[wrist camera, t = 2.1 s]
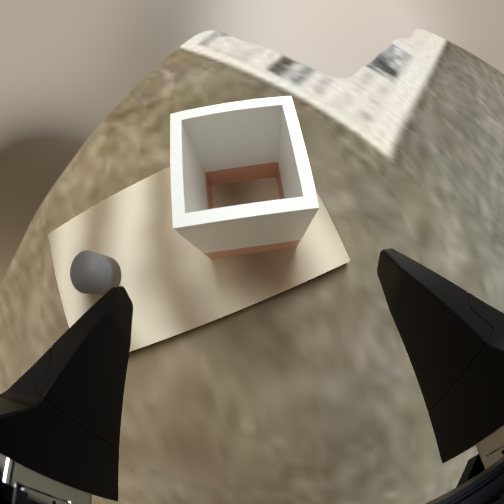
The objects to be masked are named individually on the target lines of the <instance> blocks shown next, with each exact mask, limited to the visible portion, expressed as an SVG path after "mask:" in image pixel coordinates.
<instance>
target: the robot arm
mask: <svg viewBox="0 0 504 504" xmlns="http://www.w3.org/2000/svg"><path fill="white" fill-rule="evenodd" d="M377 273H378V277H379V280H380V283H381V285H382V288H383V291H384V294H385V297H386V301H387V304H388V307H389V309H390V312H391V315H392V317H393V319H394V321H395V324H396V326H397V329H398V331H399V333H400V336H401V338H402V341H403V343H404V345H405V348H406V351H407V353H408V356H409V358H410V361H411V363H412V366H413V369H414V371H415V374H416V377H417V380H418V383H419V385H420V388H421V391H422V394H423V397H424V400H425V403H426V406H427V410H428V412H429V416H430V420H431V423H432V427H433V430H434V434H435V437H436V441H437V445H438V448H439V452H440V456H441V460H442V463H444V462H446V461H448V460H450V459H452V458H454V457H456V456H457V455H459V454H461V453H463V452H465V451H466V450H468V449H470V448H471V447H473V446H475V445H476V447H477V450H478V453H479V454H477V455H476V456H474V457H473V458H471V459H469V460H468V463H467V465H466V467H465V470H464V472H463V474H462V477H461V479H460V481H459V483H458V485H457V487H456V488H455V489H453V490H451V491H450V492H448V493H446V494H444V495H442V496H440V497H438V498H436V499H434V500H432V501H430V502H428V503H426V504H504V313H502V312H500V311H499V310H497V309H495V308H493V307H491V306H490V305H488V304H486V303H485V302H483V301H481V300H480V299H478V298H476V297H475V296H473V295H472V294H470V293H467V291H465V290H464V289H462V288H460V287H459V286H457V285H455V284H454V283H452V282H450V281H449V280H447V279H445V278H444V277H442V276H440V275H439V274H437V273H435V272H433V271H432V270H430V269H428V268H426V267H425V266H423V265H421V264H419V263H418V262H416V261H414V260H412V259H410V258H409V257H407V256H405V255H403V254H401V253H399V252H398V251H396V250H394V249H384V250H382V251H381V252H380V256H379V262H378V268H377ZM132 317H133V304H132V301H131V299H130V297H129V295H128V293H127V291H126V289H125V288H124V287H123V286H115V287H112V288H111V289H110V290H109V291H108V292H107V293H105V294H104V295H103V296H102V297H101V298H100V299H99V300H98V301H97V302H96V303H95V304H94V305H93V306H92V307H91V308H90V309H89V310H87V311H86V312H85V313H84V314H83V315H82V316H81V317H80V318H79V319H78V320H77V321H76V322H75V323H74V324H73V325H72V326H71V327H70V328H69V329H68V330H67V331H66V332H65V333H64V334H63V335H62V336H61V337H60V338H59V339H58V340H57V341H56V342H55V343H54V344H53V345H52V348H50V349H49V350H48V351H47V352H46V353H45V354H44V355H43V356H42V357H41V358H40V359H39V360H38V361H37V362H36V363H35V364H34V365H33V366H32V367H31V368H30V369H29V370H28V371H27V372H26V373H25V374H24V375H23V376H22V377H20V378H19V379H18V380H17V381H16V382H15V383H14V384H13V385H12V386H11V387H10V388H9V389H8V390H7V391H5V392H4V393H2V394H0V504H91V501H92V495H96V496H99V497H103V498H106V499H110V500H114V501H118V463H119V450H118V449H119V439H120V425H121V414H122V404H123V395H124V386H125V378H126V371H127V364H128V358H129V351H130V344H131V330H132Z"/></svg>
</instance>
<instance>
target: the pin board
mask: <svg viewBox="0 0 504 504" xmlns="http://www.w3.org/2000/svg"><path fill="white" fill-rule="evenodd" d="M211 189H212V199H213V209H214V208H221V207H227V206H234V205H241V204H248V203H255V202H262V201H270V200H278V199H280V193H279V188H278V182H277V177H270V178H262V179H255V180H248V181H241V182H234V183H227V184H221V185H215V186H211ZM315 190H316V189H315ZM316 194H317V199H318V204H319V209H318V211H317V213H316V215H315V216H314V218H313V220H312V222H311V223H310V225H309V227H308V229H307V230H306V232H305V234H304V236H303V237H302V239H301V241H300V243H299V244H298V246H297V247H295V248H288V249H280V250H273V251H266V252H259V253H252V254H244V255H237V256H230V257H223V258H216V259H210V258H209V257H207V256H206V255H205V254H204V253H202V252H201V251H200V250H199V249H198V248H196V247H195V246H194V245H193V244H191V243H190V242H189V241H188V240H186V239H185V238H184V237H183V236H182V235H180V234H179V233H178V232H177V231H175V230H174V229H173V220H172V200H171V168H170V167H168V168H166V169H164V170H162V171H160V172H158V173H155V174H153V175H151V176H149V177H147V178H145V179H143V180H141V181H139V182H137V183H135V184H133V185H131V186H130V187H128V188H126V189H124V190H122V191H120V192H118V193H116V194H114V195H113V196H111V197H109V198H107V199H105V200H104V201H102V202H100V203H98V204H97V205H95V206H93V207H91V208H90V209H88V210H86V211H85V212H83V213H81V214H80V215H78V216H76V217H75V218H73V219H71V220H70V221H68V222H67V223H65V224H63V225H62V226H60V227H59V228H57V229H56V230H54V231H52V232H51V233H49V234H48V235H49V242H50V248H51V254H52V260H53V265H54V270H55V275H56V279H57V284H58V288H59V292H60V296H61V300H62V304H63V308H64V312H65V315H66V319H67V322H68V325H69V328H70V327H71V326H72V325H73V324H74V323H75V322H76V321H77V320H78V319H79V318H80V317H81V316H82V315H83V314H84V313H85V312H86V311H87V310H89V309H90V308H91V307H92V306H93V305H94V304H95V303H96V302H97V301H98V300H99V299H100V298H101V297H102V296H103V295H104V294H105V293H107V292H108V291H109V290H110V289H111V288H112V287H115V286H123V287H124V288H125V289H126V291H127V293H128V295H129V297H130V299H131V301H132V304H133V317H132V330H131V344H130V351H129V352H131V351H134V350H136V349H139V348H142V347H145V346H148V345H151V344H153V343H156V342H159V341H162V340H164V339H167V338H170V337H172V336H175V335H178V334H180V333H183V332H186V331H188V330H191V329H194V328H196V327H199V326H201V325H204V324H206V323H209V322H211V321H214V320H216V319H219V318H221V317H224V316H226V315H229V314H231V313H234V312H236V311H239V310H241V309H244V308H246V307H248V306H251V305H253V304H256V303H258V302H260V301H263V300H265V299H267V298H270V297H272V296H274V295H277V294H279V293H281V292H284V291H286V290H288V289H290V288H293V287H295V286H297V285H299V284H302V283H304V282H306V281H308V280H311V279H313V278H315V277H317V276H319V275H321V274H324V273H326V272H328V271H330V270H332V269H334V268H337V267H339V266H341V265H343V264H345V263H347V262H349V261H350V259H349V256H348V254H347V252H346V250H345V248H344V246H343V243H342V241H341V239H340V237H339V235H338V233H337V231H336V229H335V227H334V224H333V222H332V220H331V218H330V216H329V214H328V212H327V210H326V208H325V206H324V204H323V202H322V200H321V198H320V197H319V195H318V193H317V191H316Z"/></svg>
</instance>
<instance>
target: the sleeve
mask: <svg viewBox="0 0 504 504" xmlns="http://www.w3.org/2000/svg"><path fill="white" fill-rule="evenodd" d="M170 168H171V200H172V220H173V229H174V230H175V231H177V232H178V233H179V234H180V235H182V236H183V237H184V238H185V239H186V240H188V241H189V242H190V243H191V244H193V245H194V246H195V247H196V248H198V249H199V250H200V251H201V252H202V253H204V254H205V255H206V256H207V257H209V258H210V259H216V258H223V257H230V256H237V255H244V254H252V253H259V252H266V251H273V250H280V249H288V248H295V247H297V246H298V244H299V243H300V241H301V239H302V237H303V236H304V234H305V232H306V230H307V229H308V227H309V225H310V223H311V222H312V220H313V218H314V216H315V215H316V213H317V211H318V209H319V204H318V199H317V194H316V190H315V185H314V181H313V176H312V172H311V168H310V164H309V159H308V155H307V151H306V147H305V143H304V140H303V136H302V132H301V128H300V125H299V121H298V117H297V114H296V110H295V107H294V103H293V100H292V96H282V97H270V98H261V99H252V100H244V101H237V102H230V103H223V104H217V105H211V106H206V107H201V108H195V109H190V110H186V111H181V112H177V113H172V114H171V116H170ZM270 177H277V182H278V188H279V193H280V199H278V200H270V201H262V202H255V203H248V204H241V205H234V206H227V207H221V208H214V209H213V199H212V189H211V186H215V185H221V184H227V183H234V182H241V181H248V180H255V179H262V178H270Z"/></svg>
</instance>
